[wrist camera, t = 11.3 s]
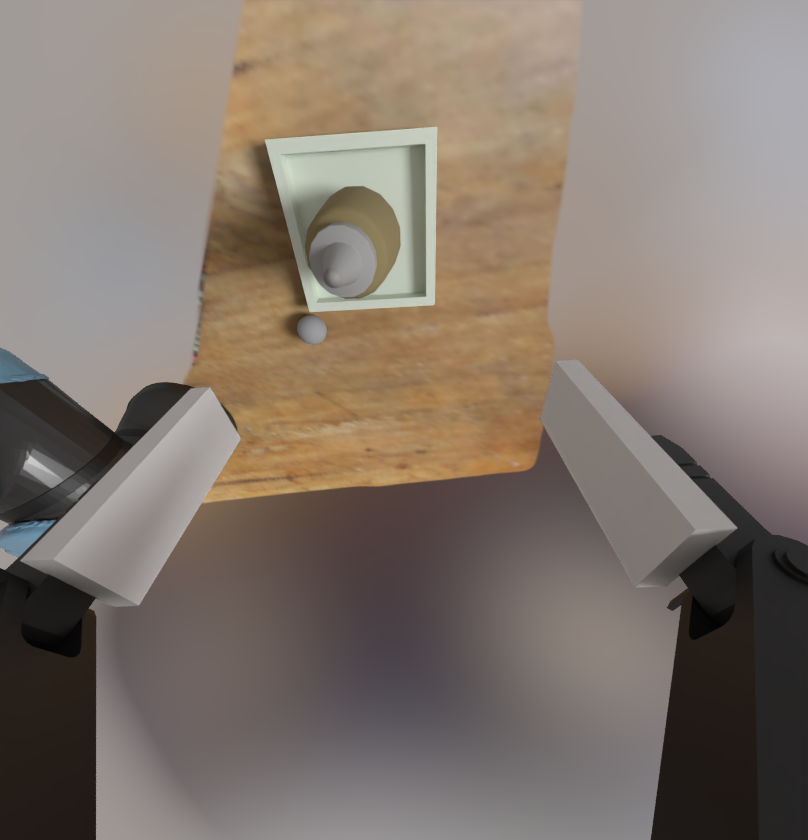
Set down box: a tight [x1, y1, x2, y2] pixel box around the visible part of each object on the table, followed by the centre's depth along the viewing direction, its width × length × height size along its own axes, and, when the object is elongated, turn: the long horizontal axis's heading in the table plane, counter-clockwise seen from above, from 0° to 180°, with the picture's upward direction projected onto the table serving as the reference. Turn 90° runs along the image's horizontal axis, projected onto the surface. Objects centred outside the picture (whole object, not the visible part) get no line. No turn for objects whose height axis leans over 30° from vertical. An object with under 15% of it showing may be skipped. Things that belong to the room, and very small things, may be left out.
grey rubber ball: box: [297, 315, 327, 345], centre depth 37 cm, size 4×4×4 cm
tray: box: [265, 127, 437, 312], centre depth 31 cm, size 15×15×2 cm
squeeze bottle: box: [305, 186, 401, 299], centre depth 25 cm, size 8×8×18 cm
